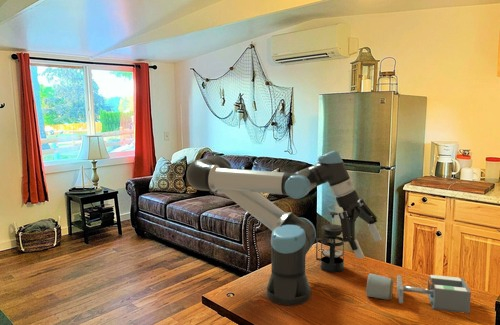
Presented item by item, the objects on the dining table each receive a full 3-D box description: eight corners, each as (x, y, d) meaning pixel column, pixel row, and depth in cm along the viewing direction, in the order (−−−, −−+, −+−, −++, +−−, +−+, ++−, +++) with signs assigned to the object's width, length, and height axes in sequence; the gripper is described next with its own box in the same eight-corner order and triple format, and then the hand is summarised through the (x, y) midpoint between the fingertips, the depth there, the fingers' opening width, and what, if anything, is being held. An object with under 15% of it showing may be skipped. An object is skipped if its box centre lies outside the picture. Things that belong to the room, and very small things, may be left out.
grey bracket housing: (432, 309, 120) (433, 287, 119) (427, 294, 129) (428, 274, 128) (469, 313, 116) (471, 291, 116) (461, 298, 126) (463, 277, 125)
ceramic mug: (391, 304, 123) (392, 282, 122) (365, 299, 126) (366, 278, 125) (393, 290, 132) (394, 270, 132) (369, 286, 136) (370, 266, 135)
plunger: (399, 302, 122) (399, 281, 121) (396, 287, 132) (397, 268, 131) (441, 308, 118) (442, 286, 117) (435, 292, 129) (436, 271, 128)
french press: (345, 264, 155) (346, 210, 152) (345, 273, 146) (346, 216, 143) (317, 261, 158) (317, 208, 155) (315, 271, 149) (315, 215, 146)
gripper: (334, 203, 121) (362, 264, 120) (370, 179, 138) (394, 232, 137) (317, 208, 126) (343, 266, 126) (353, 184, 143) (376, 235, 143)
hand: (369, 249), depth 131 cm, fingers open, 13 cm apart
